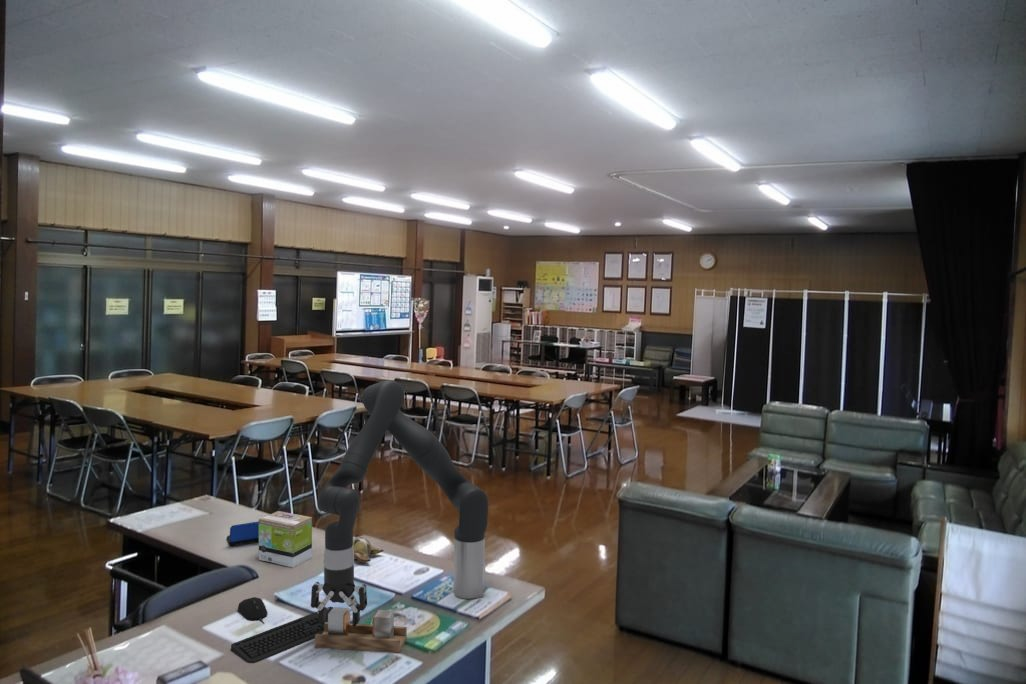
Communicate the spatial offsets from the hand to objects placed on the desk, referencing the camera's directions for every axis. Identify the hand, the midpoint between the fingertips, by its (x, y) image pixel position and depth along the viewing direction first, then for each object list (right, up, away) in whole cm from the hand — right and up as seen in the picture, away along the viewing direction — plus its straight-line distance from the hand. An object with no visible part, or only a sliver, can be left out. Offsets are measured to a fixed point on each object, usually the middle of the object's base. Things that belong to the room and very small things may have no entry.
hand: (339, 623), depth 175 cm
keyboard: (-13, -5, +3) cm, 14 cm away
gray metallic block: (0, -4, 0) cm, 4 cm away
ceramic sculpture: (-8, -1, +56) cm, 57 cm away
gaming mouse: (-28, -4, +15) cm, 31 cm away
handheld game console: (-51, 0, +71) cm, 87 cm away
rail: (+6, -5, 0) cm, 8 cm away
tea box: (-32, -1, +54) cm, 63 cm away
